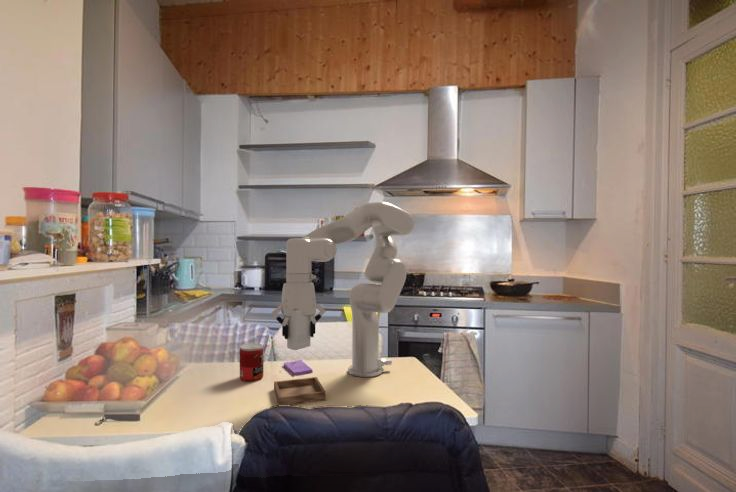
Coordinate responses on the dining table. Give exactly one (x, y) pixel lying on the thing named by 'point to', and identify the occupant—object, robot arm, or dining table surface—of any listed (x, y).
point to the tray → (299, 391)
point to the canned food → (251, 362)
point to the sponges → (297, 367)
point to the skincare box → (298, 331)
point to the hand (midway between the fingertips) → (298, 336)
